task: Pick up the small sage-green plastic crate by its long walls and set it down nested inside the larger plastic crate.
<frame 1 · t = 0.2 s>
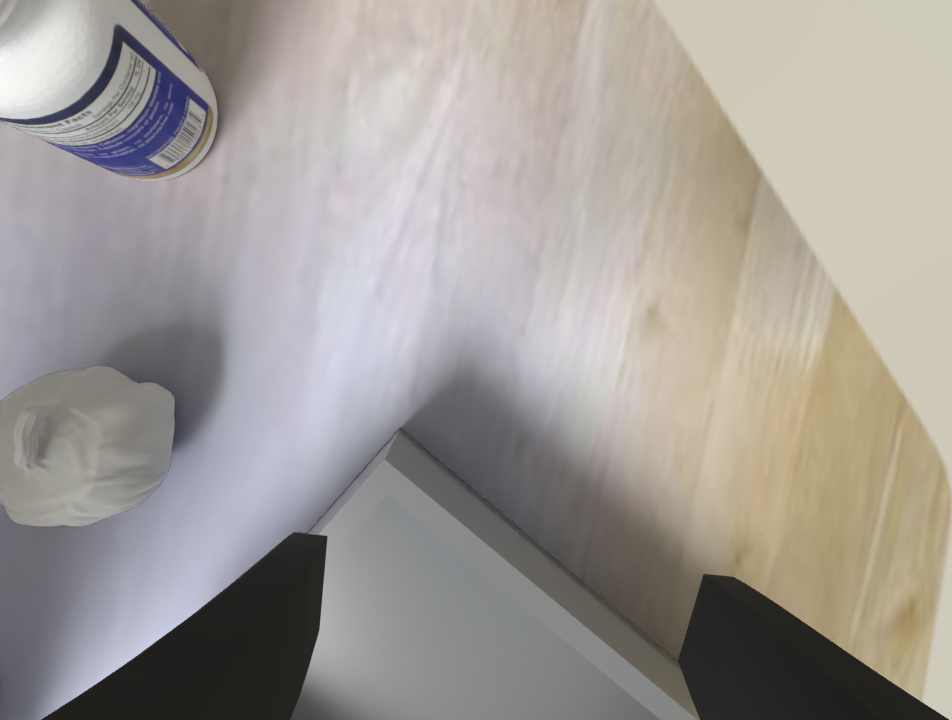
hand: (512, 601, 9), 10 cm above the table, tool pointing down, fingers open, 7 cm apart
pill bottle: (154, 116, 18), on the table
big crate: (452, 684, 20), on the table
garlic: (134, 428, 18), on the table
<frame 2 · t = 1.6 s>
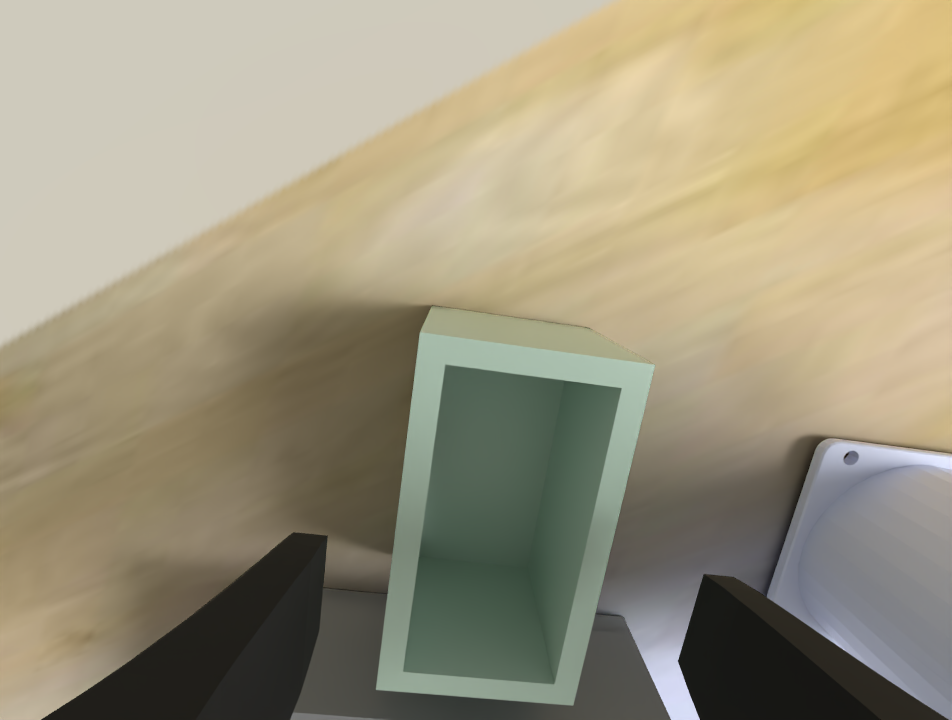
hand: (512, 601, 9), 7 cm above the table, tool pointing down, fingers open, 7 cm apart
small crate: (489, 449, 15), on the table
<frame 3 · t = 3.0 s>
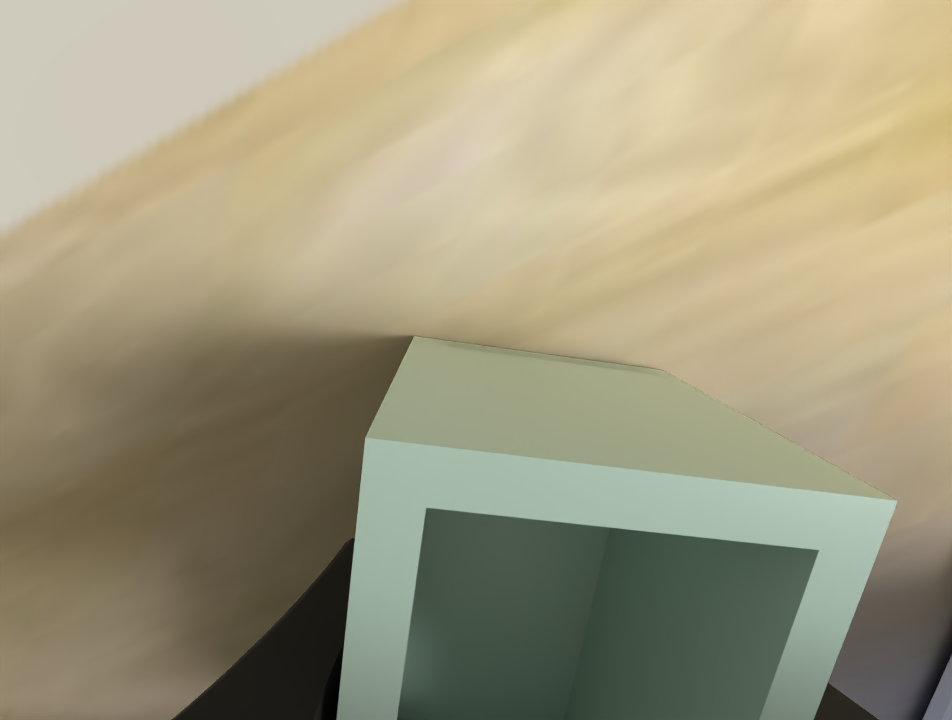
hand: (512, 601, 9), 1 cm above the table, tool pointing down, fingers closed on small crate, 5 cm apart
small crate: (504, 553, 10), on the table, touching gripper
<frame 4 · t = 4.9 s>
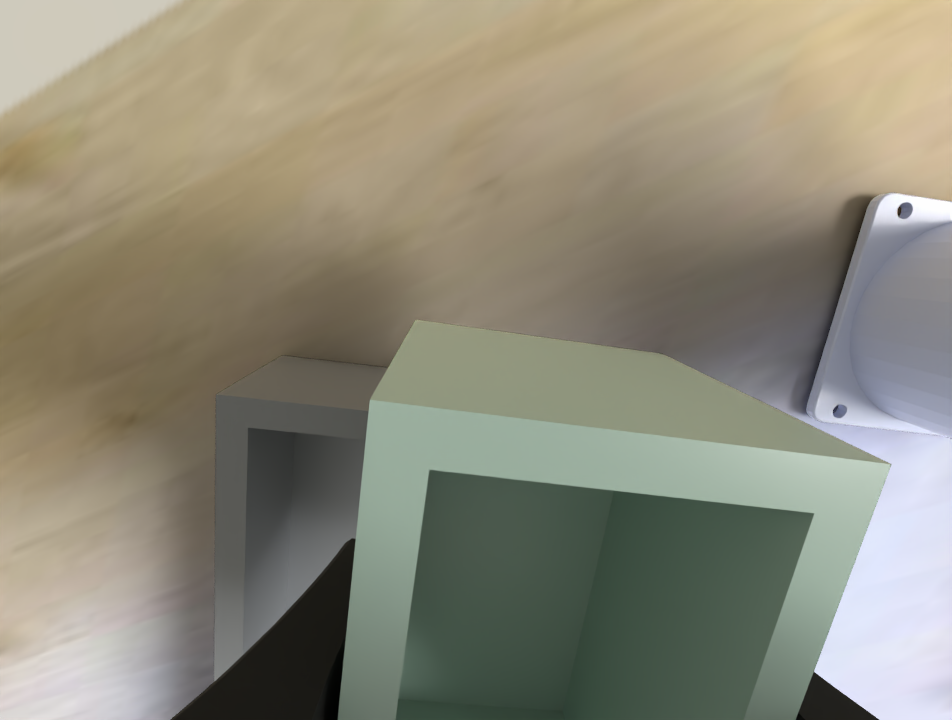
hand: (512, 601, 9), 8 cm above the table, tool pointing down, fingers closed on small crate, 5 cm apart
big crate: (451, 594, 18), on the table
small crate: (505, 536, 10), point 7 cm above the table, touching gripper
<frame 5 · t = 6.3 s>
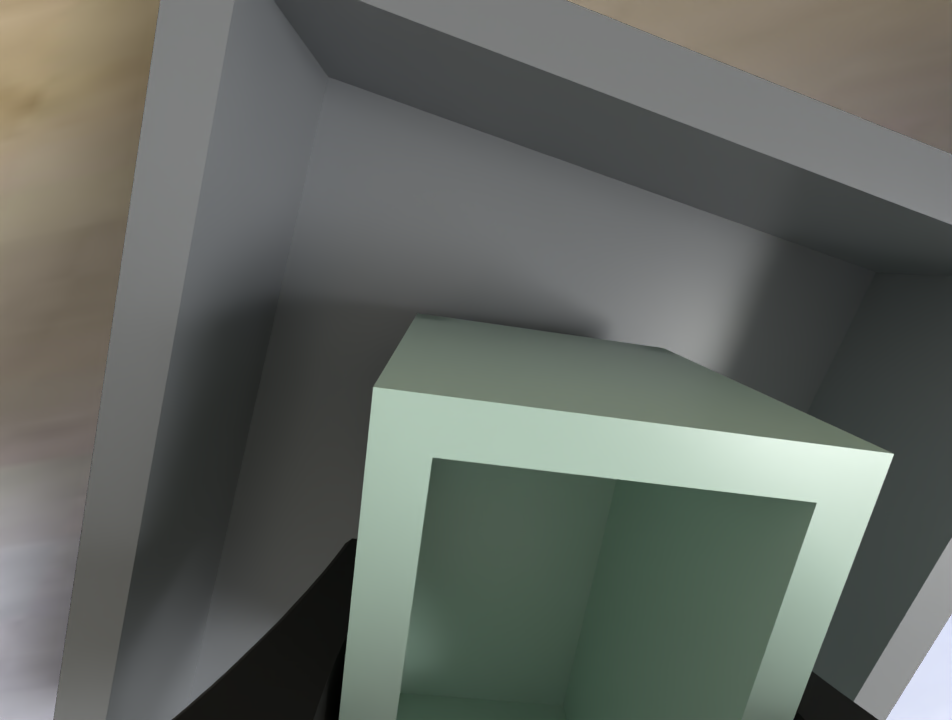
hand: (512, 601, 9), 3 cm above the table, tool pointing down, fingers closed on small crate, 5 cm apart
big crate: (496, 502, 12), on the table
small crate: (506, 531, 10), point 2 cm above the table, touching gripper
when the fingers open (3 cm above the table, at t = 7.2 s): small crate stays where it is, resting on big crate.
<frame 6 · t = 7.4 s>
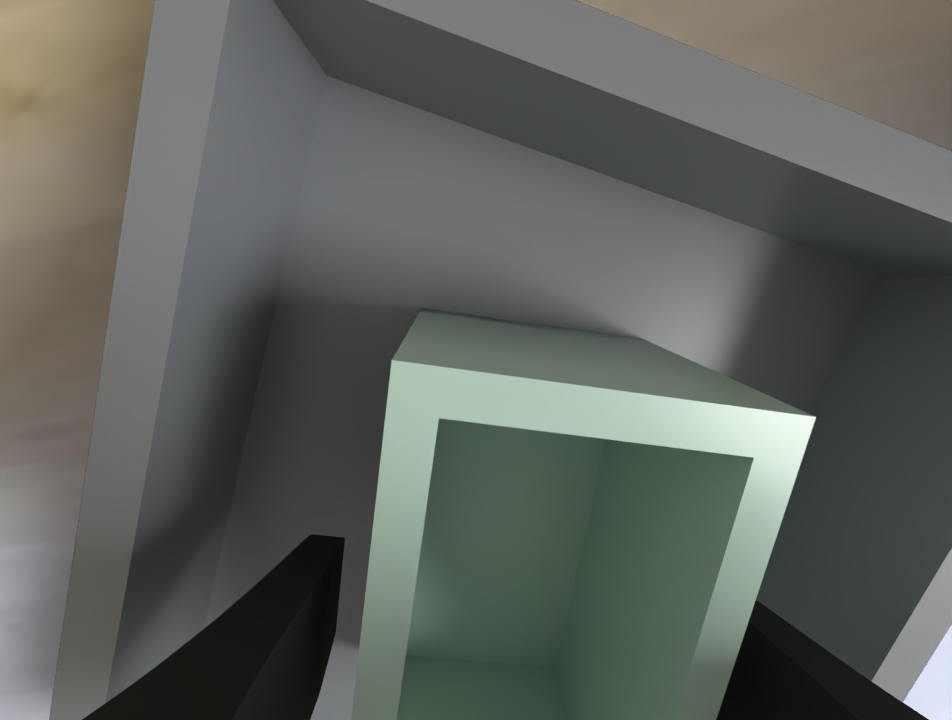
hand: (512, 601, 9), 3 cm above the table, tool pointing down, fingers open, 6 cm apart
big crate: (496, 504, 12), on the table
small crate: (502, 507, 11), point 1 cm above the table, touching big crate
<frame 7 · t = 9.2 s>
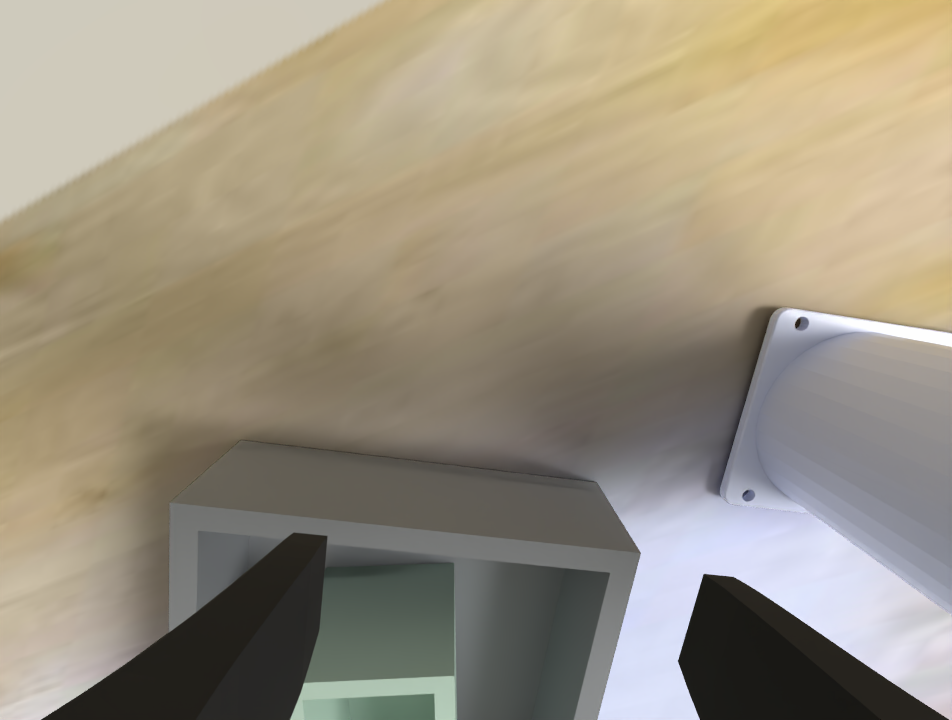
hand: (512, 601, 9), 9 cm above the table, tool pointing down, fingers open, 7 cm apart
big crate: (398, 651, 20), on the table
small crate: (395, 659, 19), point 1 cm above the table, touching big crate
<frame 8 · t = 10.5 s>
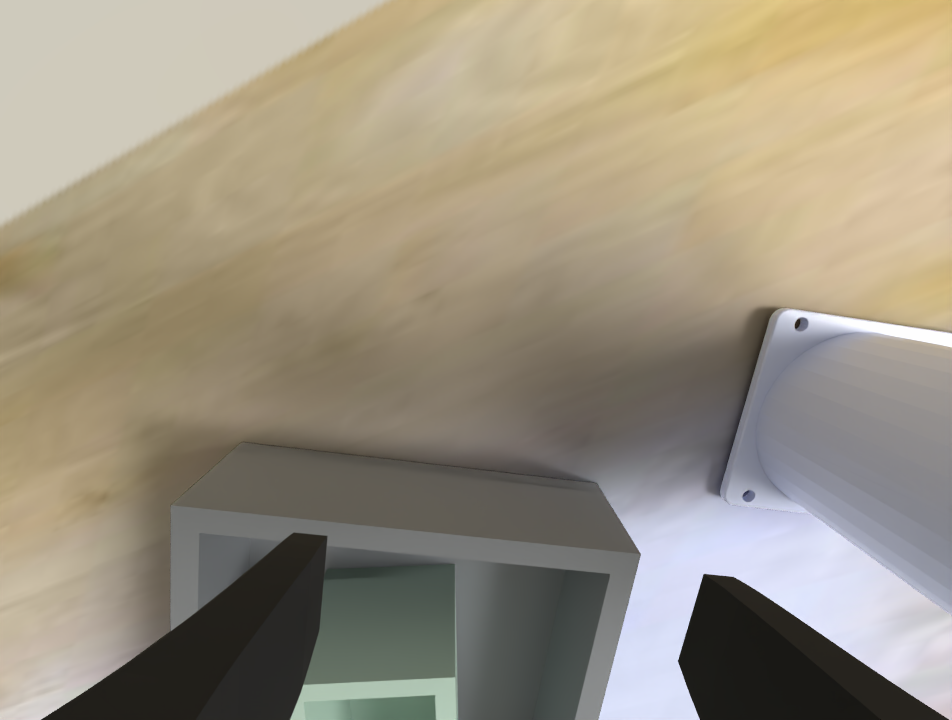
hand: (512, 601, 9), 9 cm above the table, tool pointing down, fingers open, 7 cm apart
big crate: (399, 652, 20), on the table
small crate: (396, 660, 19), point 1 cm above the table, touching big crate
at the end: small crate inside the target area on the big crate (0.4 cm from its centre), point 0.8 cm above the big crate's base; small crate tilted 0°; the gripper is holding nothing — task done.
